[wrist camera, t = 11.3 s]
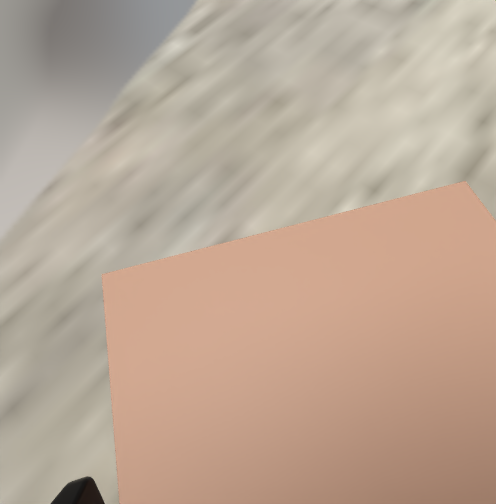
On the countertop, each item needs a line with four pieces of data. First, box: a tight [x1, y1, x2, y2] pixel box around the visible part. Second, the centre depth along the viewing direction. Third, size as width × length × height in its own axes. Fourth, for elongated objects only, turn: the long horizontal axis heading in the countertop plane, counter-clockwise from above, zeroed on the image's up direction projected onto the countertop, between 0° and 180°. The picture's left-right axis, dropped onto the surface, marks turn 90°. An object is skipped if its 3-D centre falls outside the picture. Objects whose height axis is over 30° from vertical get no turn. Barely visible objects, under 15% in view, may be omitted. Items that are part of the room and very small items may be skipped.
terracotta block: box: [102, 181, 496, 504], centre depth 9 cm, size 5×5×13 cm
